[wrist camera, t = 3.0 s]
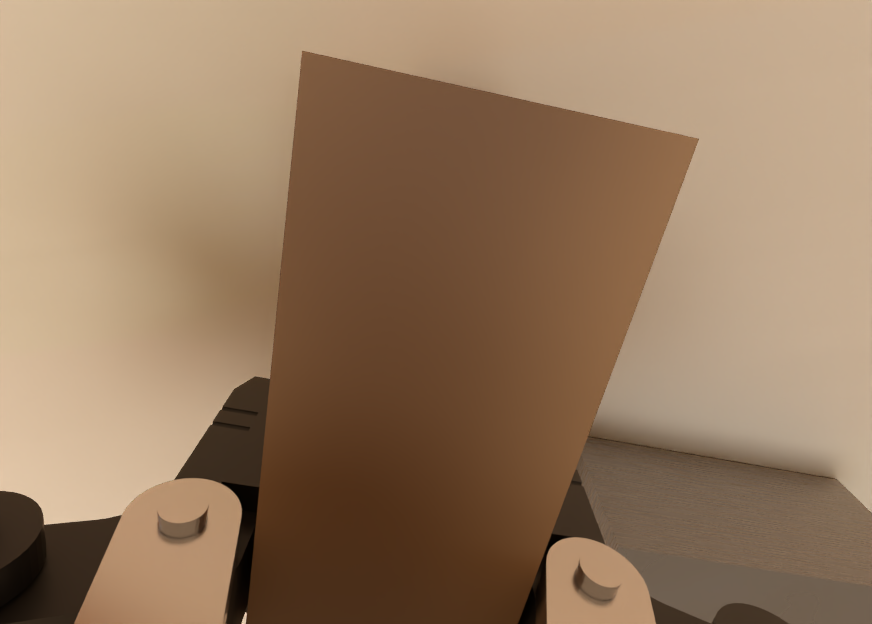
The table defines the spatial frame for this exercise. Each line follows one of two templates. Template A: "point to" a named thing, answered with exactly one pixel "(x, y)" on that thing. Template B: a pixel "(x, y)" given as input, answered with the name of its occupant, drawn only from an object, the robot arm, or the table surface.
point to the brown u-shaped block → (441, 340)
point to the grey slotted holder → (732, 533)
